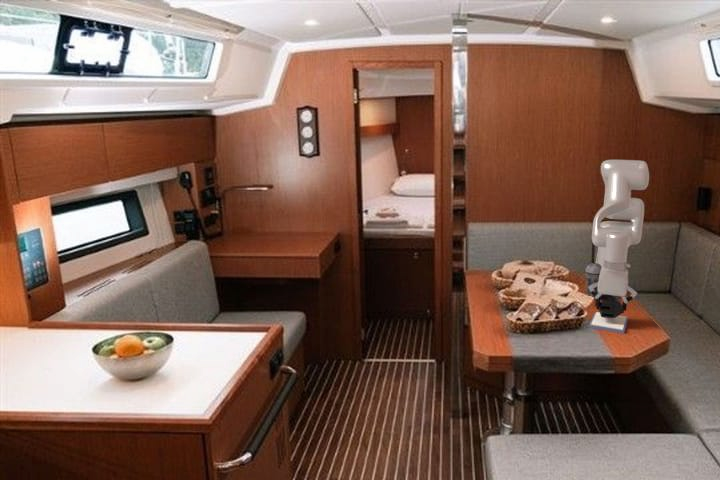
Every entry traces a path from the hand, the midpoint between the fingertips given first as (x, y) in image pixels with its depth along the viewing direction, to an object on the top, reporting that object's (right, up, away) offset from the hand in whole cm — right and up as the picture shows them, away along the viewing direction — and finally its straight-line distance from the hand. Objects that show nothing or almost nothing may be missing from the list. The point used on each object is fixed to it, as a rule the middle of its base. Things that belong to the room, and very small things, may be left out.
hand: (610, 310), depth 219 cm
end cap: (0, -2, +1) cm, 2 cm away
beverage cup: (+5, +1, +31) cm, 31 cm away
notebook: (0, -5, +1) cm, 5 cm away
